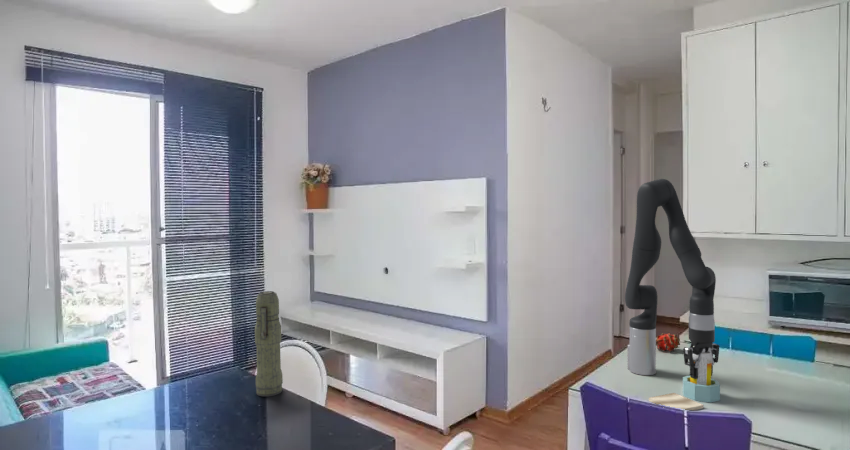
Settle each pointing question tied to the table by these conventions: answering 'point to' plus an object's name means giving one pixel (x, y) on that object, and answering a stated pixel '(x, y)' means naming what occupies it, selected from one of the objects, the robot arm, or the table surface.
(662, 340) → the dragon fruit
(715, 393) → the can holder
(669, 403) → the birch board
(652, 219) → the robot arm
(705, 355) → the beer can
